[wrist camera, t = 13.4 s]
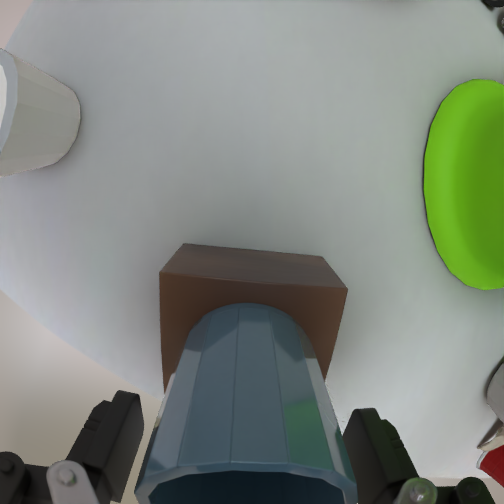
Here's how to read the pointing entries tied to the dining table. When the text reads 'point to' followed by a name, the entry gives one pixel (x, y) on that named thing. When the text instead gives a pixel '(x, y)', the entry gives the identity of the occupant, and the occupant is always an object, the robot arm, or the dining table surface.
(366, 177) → the dining table surface
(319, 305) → the block
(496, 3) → the toy vehicle
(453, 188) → the wineglass
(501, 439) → the bone
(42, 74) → the white candle
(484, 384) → the dining table surface
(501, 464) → the plastic cup
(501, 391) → the water bottle
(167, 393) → the glazed cup
